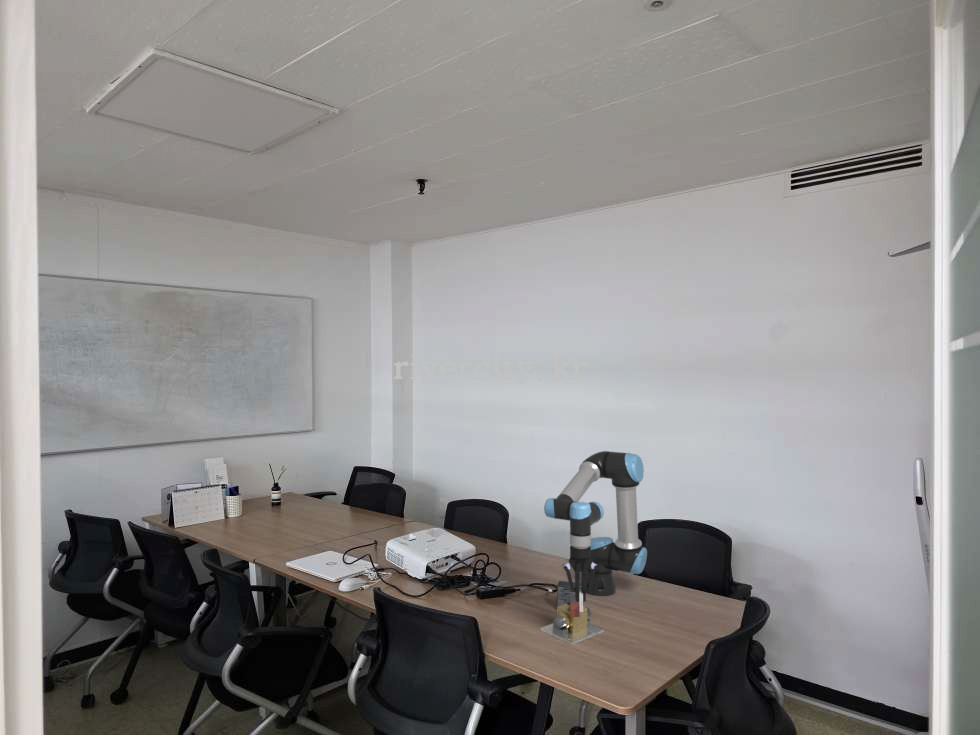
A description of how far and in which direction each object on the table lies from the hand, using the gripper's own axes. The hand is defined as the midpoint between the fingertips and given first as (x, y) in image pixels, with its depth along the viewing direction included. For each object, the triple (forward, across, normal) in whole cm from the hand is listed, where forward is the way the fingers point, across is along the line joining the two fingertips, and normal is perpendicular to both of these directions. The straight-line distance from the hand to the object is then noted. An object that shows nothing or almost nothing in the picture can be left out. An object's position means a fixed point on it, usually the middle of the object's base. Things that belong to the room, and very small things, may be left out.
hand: (580, 610), depth 228 cm
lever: (+1, +2, -4) cm, 5 cm away
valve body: (+11, +2, -10) cm, 15 cm away
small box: (+12, -2, -31) cm, 33 cm away
